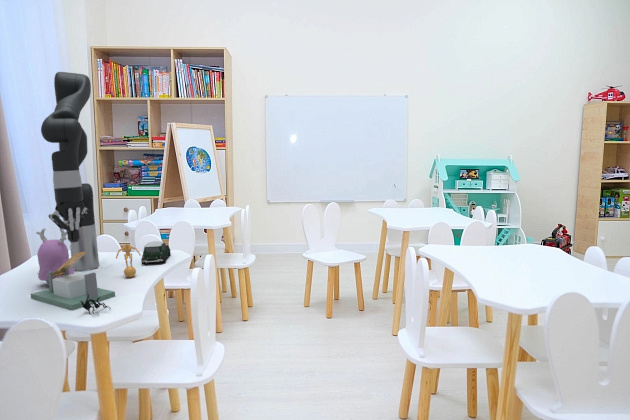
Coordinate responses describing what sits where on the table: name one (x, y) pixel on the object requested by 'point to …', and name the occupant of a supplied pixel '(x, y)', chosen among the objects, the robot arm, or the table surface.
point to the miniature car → (155, 252)
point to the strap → (68, 264)
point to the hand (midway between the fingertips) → (73, 241)
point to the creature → (88, 306)
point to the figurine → (130, 270)
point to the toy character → (52, 255)
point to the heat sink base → (74, 301)
